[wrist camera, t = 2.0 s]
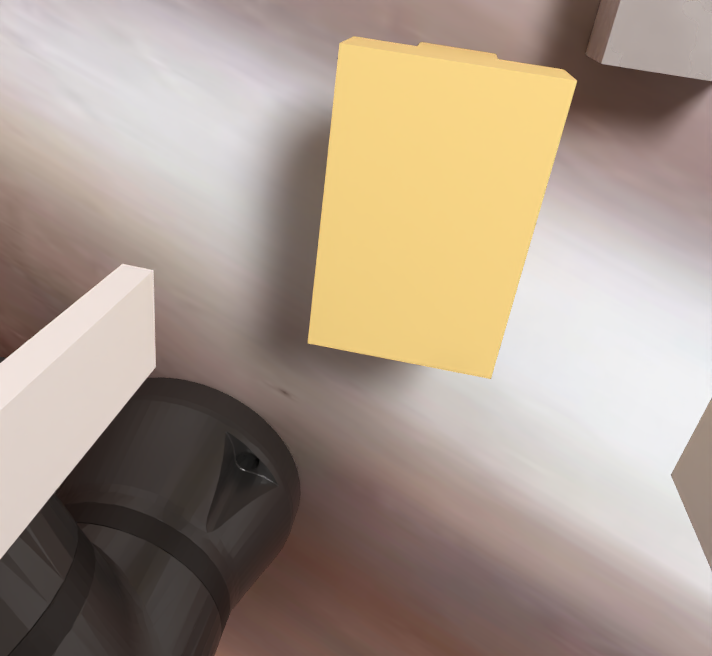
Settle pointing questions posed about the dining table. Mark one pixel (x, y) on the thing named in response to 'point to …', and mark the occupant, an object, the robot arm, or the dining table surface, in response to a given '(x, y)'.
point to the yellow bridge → (431, 200)
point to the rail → (655, 36)
